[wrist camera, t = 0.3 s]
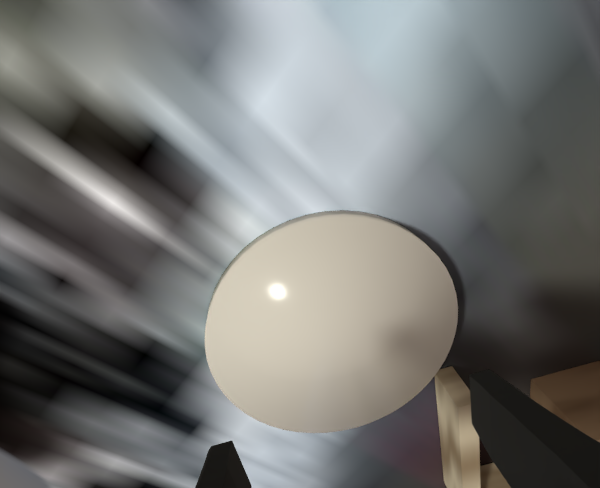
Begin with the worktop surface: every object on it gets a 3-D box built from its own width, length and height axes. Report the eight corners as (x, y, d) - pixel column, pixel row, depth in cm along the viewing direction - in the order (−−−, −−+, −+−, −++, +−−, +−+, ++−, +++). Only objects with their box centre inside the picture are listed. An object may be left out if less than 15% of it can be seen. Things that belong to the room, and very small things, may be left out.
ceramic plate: (453, 384, 25) (462, 398, 24) (246, 440, 24) (246, 457, 23) (440, 181, 19) (451, 186, 18) (169, 249, 19) (164, 259, 18)
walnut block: (591, 411, 28) (659, 475, 23) (527, 428, 28) (582, 496, 23) (599, 359, 26) (674, 418, 21) (530, 378, 26) (591, 441, 21)
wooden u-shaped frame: (669, 423, 30) (712, 458, 27) (444, 486, 29) (465, 528, 26) (702, 298, 25) (759, 325, 22) (433, 370, 24) (458, 407, 21)
